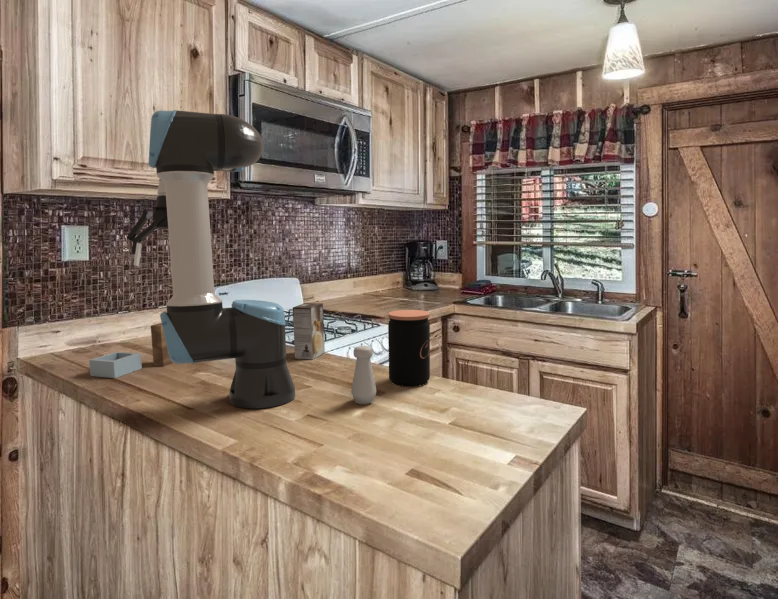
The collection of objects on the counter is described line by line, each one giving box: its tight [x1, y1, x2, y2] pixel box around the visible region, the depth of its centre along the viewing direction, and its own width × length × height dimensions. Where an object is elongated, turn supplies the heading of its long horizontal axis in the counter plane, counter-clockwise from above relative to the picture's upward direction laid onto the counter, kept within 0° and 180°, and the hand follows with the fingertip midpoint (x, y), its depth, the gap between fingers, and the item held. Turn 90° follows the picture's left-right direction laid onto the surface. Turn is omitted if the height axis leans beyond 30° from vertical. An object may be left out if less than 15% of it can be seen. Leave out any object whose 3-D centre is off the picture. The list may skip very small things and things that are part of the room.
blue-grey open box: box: [88, 351, 143, 379], centre depth 149 cm, size 8×10×4 cm
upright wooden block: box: [150, 322, 173, 367], centre depth 157 cm, size 4×5×12 cm
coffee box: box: [292, 302, 326, 360], centre depth 164 cm, size 9×6×16 cm
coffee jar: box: [387, 309, 431, 388], centre depth 136 cm, size 11×11×18 cm
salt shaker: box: [350, 345, 377, 405], centre depth 121 cm, size 6×6×13 cm
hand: (161, 268), depth 154 cm, fingers open, 13 cm apart
